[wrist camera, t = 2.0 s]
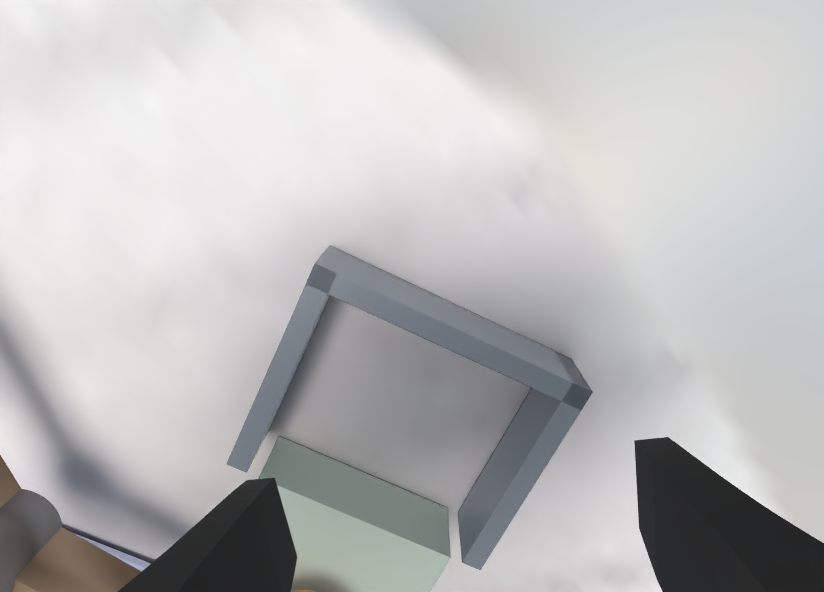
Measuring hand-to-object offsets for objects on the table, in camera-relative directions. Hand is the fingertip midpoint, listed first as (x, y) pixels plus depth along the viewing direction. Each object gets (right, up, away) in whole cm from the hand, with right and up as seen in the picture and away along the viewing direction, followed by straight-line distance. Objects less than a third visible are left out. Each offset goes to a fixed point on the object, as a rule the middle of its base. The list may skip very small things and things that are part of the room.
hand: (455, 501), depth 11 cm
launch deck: (-5, -7, +14) cm, 16 cm away
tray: (-1, 0, +12) cm, 12 cm away
